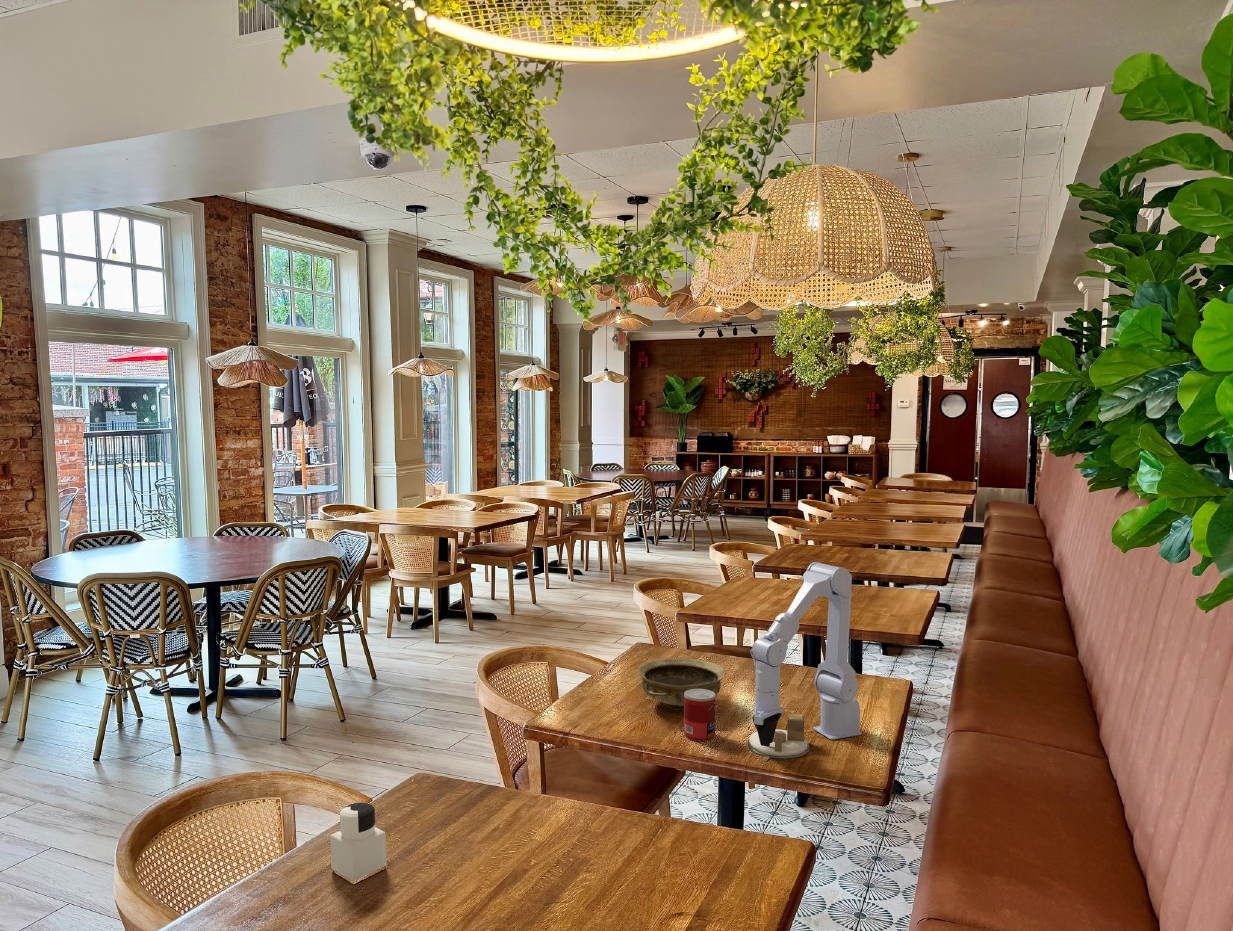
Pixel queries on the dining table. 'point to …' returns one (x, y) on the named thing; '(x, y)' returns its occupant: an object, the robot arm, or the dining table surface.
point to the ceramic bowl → (678, 679)
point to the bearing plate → (778, 756)
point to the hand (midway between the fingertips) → (766, 743)
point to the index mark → (766, 758)
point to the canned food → (699, 714)
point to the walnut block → (795, 727)
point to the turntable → (779, 745)
